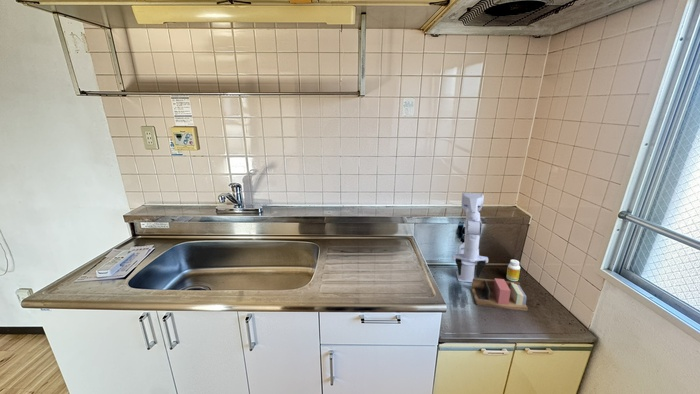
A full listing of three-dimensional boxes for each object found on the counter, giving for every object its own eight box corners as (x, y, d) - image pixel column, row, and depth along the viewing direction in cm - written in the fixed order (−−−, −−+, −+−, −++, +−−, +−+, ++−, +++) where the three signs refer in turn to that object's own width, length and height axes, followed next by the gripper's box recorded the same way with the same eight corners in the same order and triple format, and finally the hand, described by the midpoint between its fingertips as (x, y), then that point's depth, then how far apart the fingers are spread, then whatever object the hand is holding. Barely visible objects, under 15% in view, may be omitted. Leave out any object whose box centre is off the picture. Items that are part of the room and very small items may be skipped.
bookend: (474, 288, 132) (475, 279, 131) (484, 289, 132) (485, 280, 130) (478, 299, 125) (479, 289, 124) (488, 300, 124) (490, 290, 123)
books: (509, 292, 129) (510, 282, 128) (517, 293, 129) (519, 283, 127) (516, 304, 121) (517, 294, 120) (525, 305, 120) (527, 295, 119)
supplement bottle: (518, 282, 139) (521, 264, 136) (506, 280, 141) (509, 262, 139) (518, 277, 144) (520, 260, 141) (506, 274, 146) (508, 257, 143)
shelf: (471, 289, 134) (472, 277, 132) (517, 294, 130) (519, 282, 128) (476, 305, 123) (478, 292, 121) (527, 310, 118) (529, 298, 117)
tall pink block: (492, 291, 130) (494, 278, 128) (502, 292, 129) (504, 279, 127) (498, 303, 121) (500, 289, 120) (508, 304, 121) (510, 290, 119)
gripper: (455, 250, 121) (452, 278, 125) (491, 252, 118) (488, 281, 122) (452, 243, 128) (450, 270, 131) (487, 245, 125) (483, 273, 128)
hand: (468, 275), depth 127 cm, fingers open, 7 cm apart
